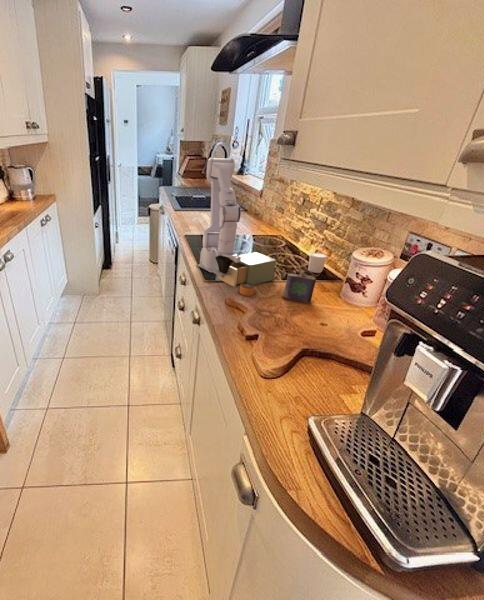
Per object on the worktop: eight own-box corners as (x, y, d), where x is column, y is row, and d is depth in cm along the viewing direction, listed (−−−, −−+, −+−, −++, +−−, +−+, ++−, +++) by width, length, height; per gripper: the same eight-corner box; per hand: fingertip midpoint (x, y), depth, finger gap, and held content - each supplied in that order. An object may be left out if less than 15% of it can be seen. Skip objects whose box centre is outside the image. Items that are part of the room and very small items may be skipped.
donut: (236, 291, 120) (237, 283, 119) (246, 288, 123) (248, 281, 121) (246, 296, 116) (247, 289, 115) (256, 294, 119) (258, 286, 117)
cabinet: (247, 286, 125) (250, 265, 121) (229, 276, 133) (231, 256, 129) (272, 280, 131) (276, 259, 127) (253, 271, 139) (256, 252, 135)
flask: (282, 298, 116) (288, 270, 111) (283, 295, 118) (289, 267, 113) (310, 303, 112) (317, 275, 108) (310, 300, 115) (318, 272, 110)
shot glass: (303, 268, 143) (306, 253, 140) (314, 266, 146) (318, 251, 142) (315, 274, 137) (319, 258, 134) (327, 272, 140) (331, 256, 137)
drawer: (223, 289, 120) (225, 271, 117) (208, 280, 127) (209, 263, 124) (257, 280, 127) (260, 264, 124) (241, 272, 135) (243, 257, 132)
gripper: (205, 236, 121) (203, 270, 127) (231, 246, 110) (227, 283, 115) (220, 234, 124) (217, 268, 130) (247, 243, 113) (242, 280, 119)
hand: (223, 275), depth 123 cm, fingers closed, pressing on drawer
